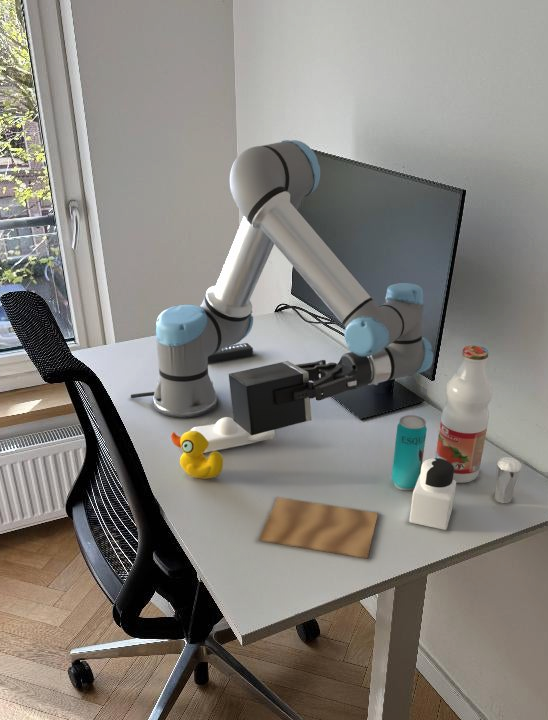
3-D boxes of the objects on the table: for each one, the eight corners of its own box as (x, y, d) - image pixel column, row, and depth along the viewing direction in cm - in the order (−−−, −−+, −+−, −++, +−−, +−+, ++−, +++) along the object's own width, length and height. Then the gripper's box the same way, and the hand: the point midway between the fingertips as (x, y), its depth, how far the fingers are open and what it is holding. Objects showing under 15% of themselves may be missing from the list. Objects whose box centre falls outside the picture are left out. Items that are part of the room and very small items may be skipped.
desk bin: (291, 406, 157) (287, 360, 153) (311, 420, 149) (308, 372, 145) (233, 421, 152) (228, 373, 148) (251, 435, 144) (246, 386, 140)
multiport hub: (253, 355, 211) (253, 348, 210) (204, 364, 205) (204, 356, 204) (247, 350, 214) (247, 342, 213) (199, 358, 209) (198, 350, 208)
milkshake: (514, 509, 149) (523, 466, 144) (487, 500, 151) (495, 458, 146) (521, 498, 152) (530, 456, 147) (495, 490, 155) (503, 448, 150)
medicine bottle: (451, 510, 148) (460, 458, 142) (446, 531, 142) (454, 477, 136) (415, 503, 150) (422, 451, 144) (408, 523, 144) (415, 469, 138)
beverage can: (418, 494, 153) (426, 429, 145) (389, 490, 154) (397, 425, 146) (419, 479, 158) (428, 415, 150) (392, 475, 158) (399, 412, 151)
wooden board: (259, 540, 138) (259, 538, 138) (277, 499, 150) (277, 497, 150) (367, 558, 134) (367, 556, 134) (377, 514, 146) (378, 512, 146)
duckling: (167, 475, 156) (164, 433, 151) (179, 463, 161) (177, 422, 156) (216, 487, 153) (215, 445, 148) (228, 474, 157) (227, 433, 152)
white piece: (176, 437, 170) (174, 414, 167) (259, 424, 177) (259, 401, 174) (187, 460, 162) (186, 436, 159) (275, 445, 168) (275, 422, 165)
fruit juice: (487, 480, 158) (510, 356, 144) (447, 487, 155) (467, 362, 141) (464, 457, 166) (483, 338, 151) (425, 464, 163) (442, 343, 149)
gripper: (393, 400, 148) (290, 426, 140) (338, 371, 167) (244, 393, 158) (392, 363, 145) (288, 388, 137) (336, 338, 163) (241, 359, 155)
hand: (264, 391), depth 147 cm, fingers closed on desk bin, 9 cm apart
